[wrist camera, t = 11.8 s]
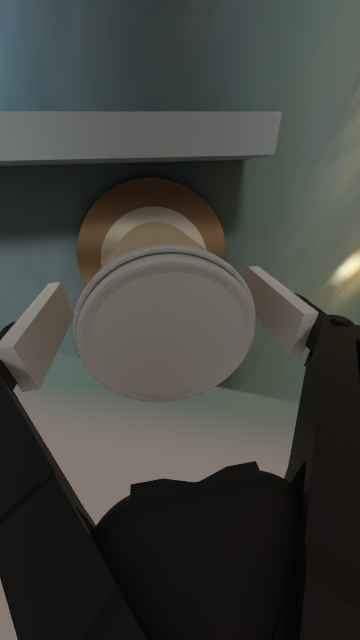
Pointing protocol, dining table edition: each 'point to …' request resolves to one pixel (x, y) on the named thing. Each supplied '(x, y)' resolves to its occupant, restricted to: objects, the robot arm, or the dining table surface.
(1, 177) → the dining table surface
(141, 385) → the coffee cup
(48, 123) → the grey wall
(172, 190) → the walnut mat
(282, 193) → the dining table surface
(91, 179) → the dining table surface
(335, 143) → the dining table surface
